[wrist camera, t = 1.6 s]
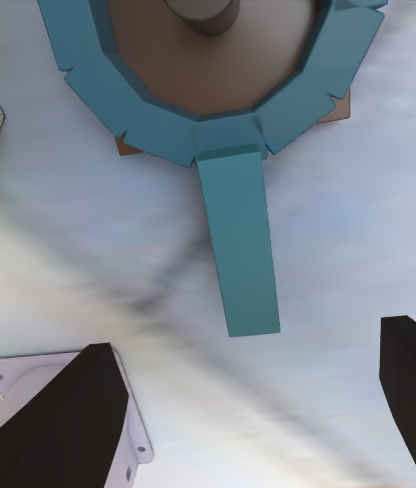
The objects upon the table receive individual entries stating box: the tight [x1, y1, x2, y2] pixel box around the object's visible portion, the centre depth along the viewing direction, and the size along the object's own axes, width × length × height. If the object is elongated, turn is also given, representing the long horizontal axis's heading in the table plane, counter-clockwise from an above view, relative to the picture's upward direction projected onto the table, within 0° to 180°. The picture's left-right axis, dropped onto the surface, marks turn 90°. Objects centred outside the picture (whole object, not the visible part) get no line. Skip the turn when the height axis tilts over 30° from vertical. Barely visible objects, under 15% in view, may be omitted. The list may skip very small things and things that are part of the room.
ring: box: [37, 0, 388, 337], centre depth 12 cm, size 17×10×3 cm, turn 10°
